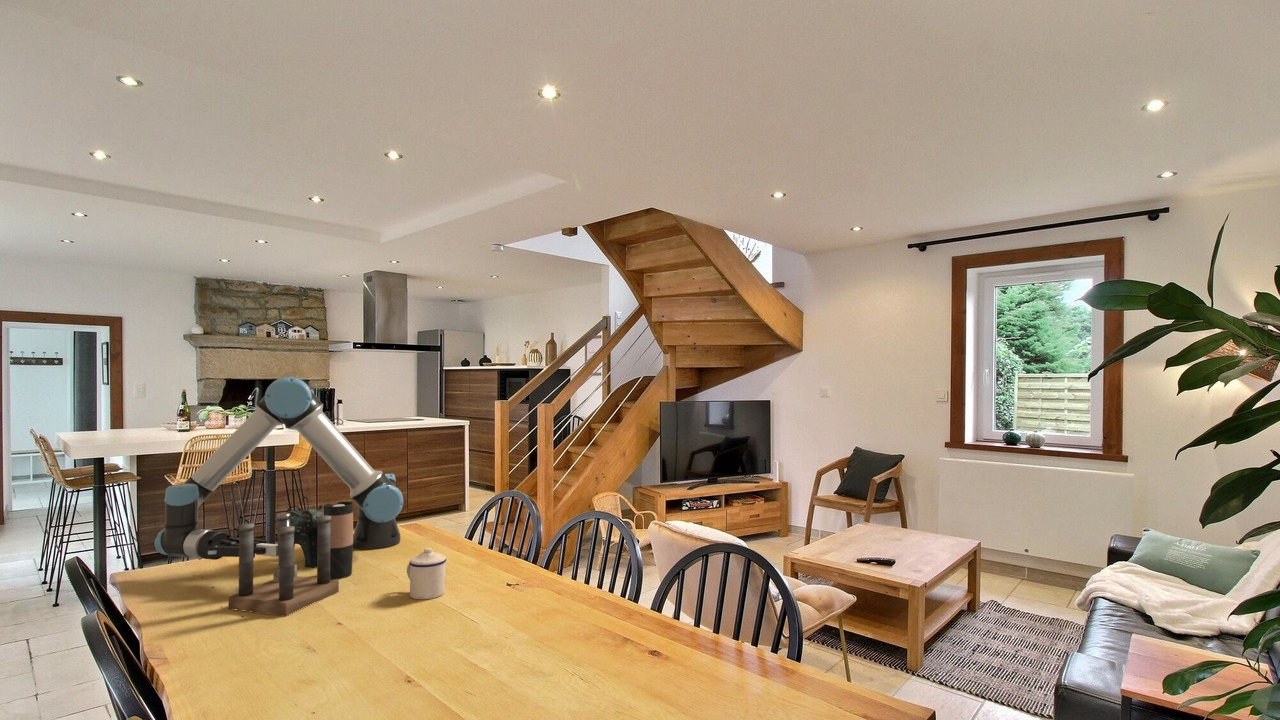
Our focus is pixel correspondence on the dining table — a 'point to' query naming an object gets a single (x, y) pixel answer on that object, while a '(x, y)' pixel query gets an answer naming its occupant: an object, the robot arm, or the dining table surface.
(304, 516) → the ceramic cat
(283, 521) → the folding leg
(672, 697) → the dining table surface
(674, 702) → the dining table surface
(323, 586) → the stool
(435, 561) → the teacup with lid
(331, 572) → the travel mug
